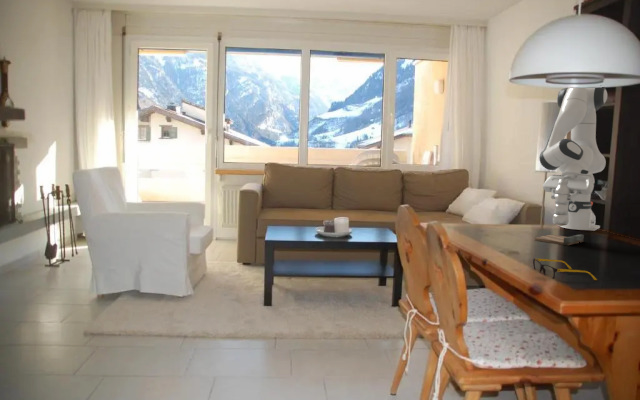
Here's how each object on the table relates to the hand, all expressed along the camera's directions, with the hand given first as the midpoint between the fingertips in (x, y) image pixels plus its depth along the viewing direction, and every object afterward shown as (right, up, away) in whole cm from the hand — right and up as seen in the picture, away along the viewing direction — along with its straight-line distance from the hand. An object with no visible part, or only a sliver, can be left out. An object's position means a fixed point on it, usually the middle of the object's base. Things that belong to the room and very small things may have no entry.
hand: (561, 198), depth 221 cm
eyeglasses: (-27, -25, -58) cm, 68 cm away
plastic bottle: (0, -12, +1) cm, 12 cm away
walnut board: (0, -18, +2) cm, 19 cm away
